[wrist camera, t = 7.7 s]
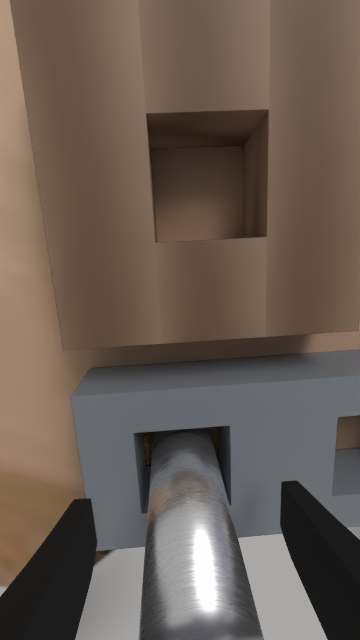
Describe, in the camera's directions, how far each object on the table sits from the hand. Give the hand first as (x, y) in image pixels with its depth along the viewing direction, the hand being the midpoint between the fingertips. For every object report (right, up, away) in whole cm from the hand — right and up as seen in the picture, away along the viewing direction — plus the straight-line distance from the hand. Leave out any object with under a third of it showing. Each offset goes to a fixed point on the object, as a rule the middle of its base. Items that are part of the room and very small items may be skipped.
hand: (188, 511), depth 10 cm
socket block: (+1, +13, +2) cm, 13 cm away
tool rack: (+4, +1, +5) cm, 7 cm away
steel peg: (0, +1, +5) cm, 5 cm away
